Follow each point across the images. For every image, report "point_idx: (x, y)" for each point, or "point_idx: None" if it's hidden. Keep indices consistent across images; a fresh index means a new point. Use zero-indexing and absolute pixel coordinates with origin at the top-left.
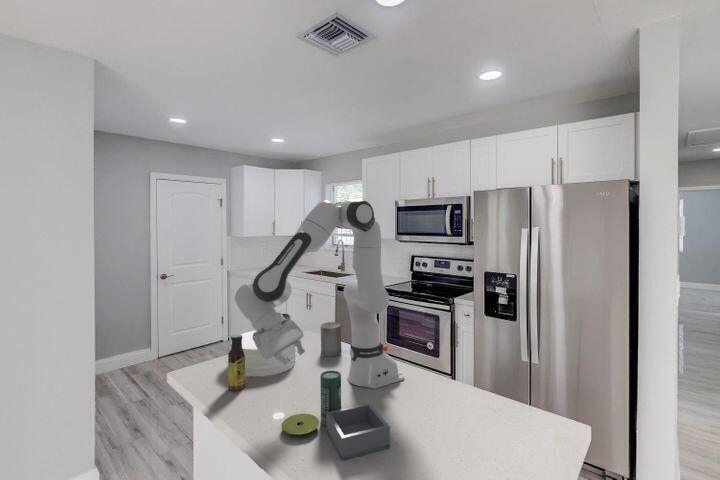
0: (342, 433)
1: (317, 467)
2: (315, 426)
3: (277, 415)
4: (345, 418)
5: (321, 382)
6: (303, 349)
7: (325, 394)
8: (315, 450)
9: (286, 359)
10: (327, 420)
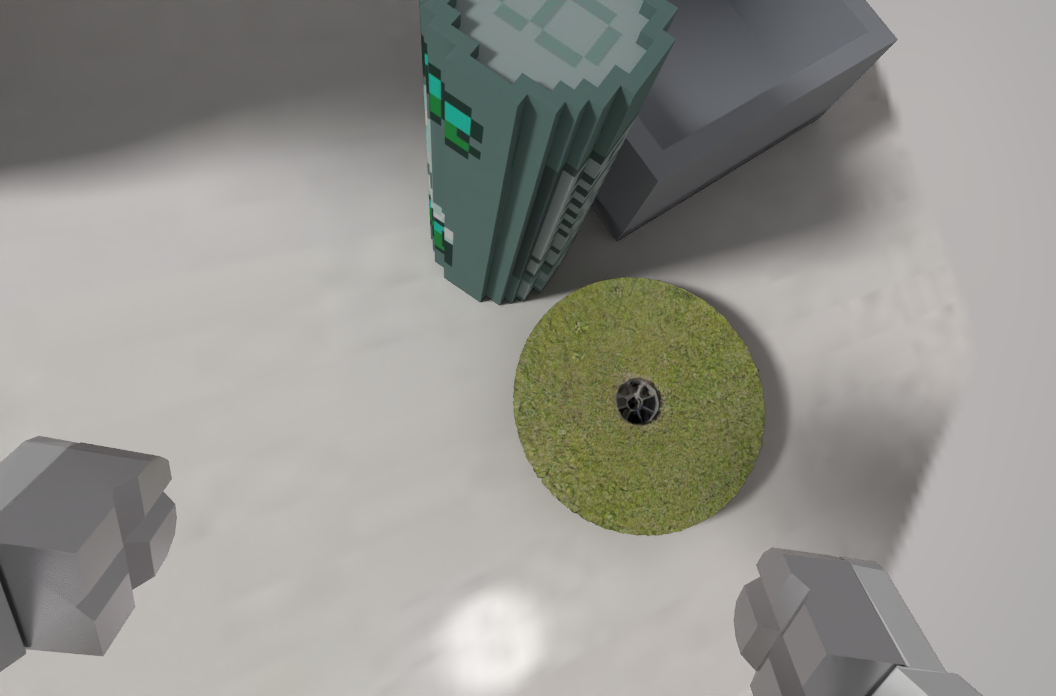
0: (854, 43)
1: (895, 215)
2: (647, 292)
3: (497, 651)
4: None
5: (619, 132)
6: (33, 473)
7: (619, 147)
8: (787, 258)
9: (907, 618)
10: (660, 192)
